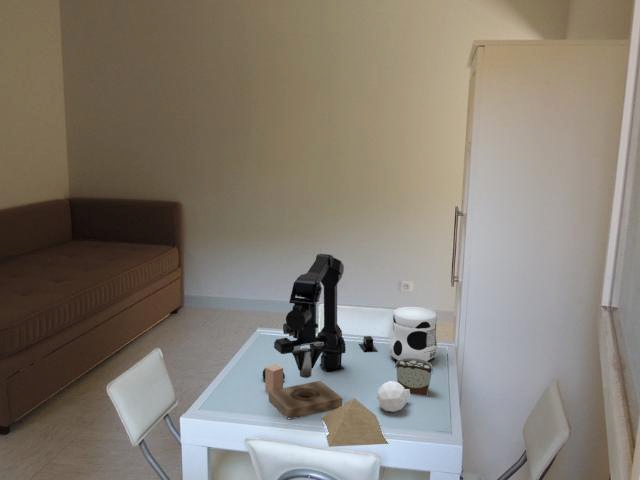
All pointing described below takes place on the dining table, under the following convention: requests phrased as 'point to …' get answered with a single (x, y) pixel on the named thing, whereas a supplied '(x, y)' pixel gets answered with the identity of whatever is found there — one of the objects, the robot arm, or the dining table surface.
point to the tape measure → (264, 375)
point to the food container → (414, 375)
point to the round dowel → (306, 363)
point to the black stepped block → (368, 344)
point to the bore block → (305, 399)
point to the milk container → (414, 334)
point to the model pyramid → (353, 426)
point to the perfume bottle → (392, 396)
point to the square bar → (273, 378)
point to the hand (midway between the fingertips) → (305, 369)
